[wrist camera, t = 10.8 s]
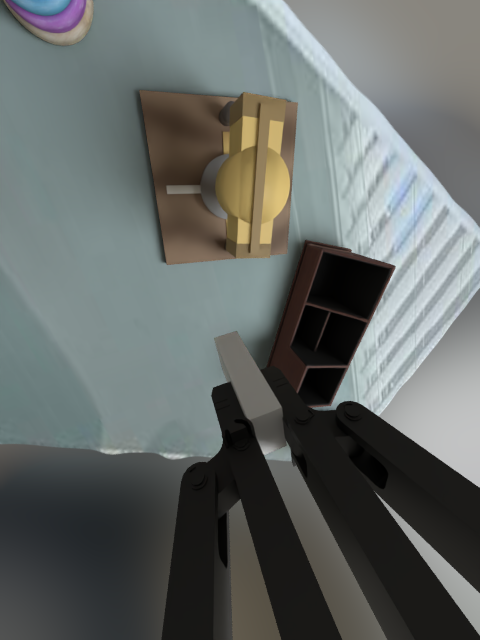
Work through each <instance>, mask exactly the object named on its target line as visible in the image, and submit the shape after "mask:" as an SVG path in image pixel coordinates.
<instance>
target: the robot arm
mask: <svg viewBox="0 0 480 640" xmlns="http://www.w3.org/2000/svg"><path fill="white" fill-rule="evenodd" d="M214 340H215V343H216V347H217V351H218V354H219V358H220V362H221V365H222V369H223V372H224V374H225V377H226V380H227V382H228V383H225V384H222V385H219V386H216V387H214V388H213V390H212V395H211V397H212V400H213V403H214V407H215V410H216V414H217V417H218V421H219V424H220V428H221V431H222V438H223V444H222V447H221V449H220V451H219V452H218V453H217V454H216V455H215V456H214V457H213V458H212V459H211V460H210V461H208V462H207V463H206V462H198V463H195V464H193V465H192V466H190V467H189V468H188V469H187V470H186V472H185V473H184V475H183V478H182V481H181V487H180V495H179V504H178V512H177V519H176V527H175V535H174V543H173V552H172V559H171V567H170V575H169V584H168V592H167V599H166V608H165V616H164V624H163V632H162V640H232V609H231V573H230V539H229V509H230V508H231V507H232V506H233V505H234V504H235V503H237V502H238V501H239V500H240V499H241V502H242V505H243V508H244V512H245V515H246V519H247V522H248V526H249V529H250V533H251V536H252V539H253V543H254V547H255V550H256V554H257V557H258V560H259V564H260V567H261V571H262V574H263V578H264V581H265V585H266V588H267V592H268V595H269V598H270V602H271V605H272V609H273V612H274V616H275V619H276V623H277V626H278V630H279V633H280V636H281V640H342V638H341V636H340V634H339V632H338V629H337V627H336V624H335V622H334V620H333V617H332V615H331V612H330V610H329V608H328V605H327V603H326V601H325V599H324V596H323V594H322V591H321V589H320V587H319V584H318V582H317V579H316V577H315V575H314V572H313V570H312V568H311V566H310V563H309V561H308V558H307V556H306V553H305V551H304V549H303V547H302V544H301V542H300V539H299V537H298V535H297V532H296V530H295V528H294V525H293V523H292V521H291V518H290V516H289V513H288V511H287V509H286V507H285V504H284V502H283V499H282V497H281V495H280V492H279V490H278V487H277V485H276V483H275V481H274V478H273V476H272V474H271V471H270V469H269V466H268V464H267V462H266V459H265V457H264V455H266V454H268V453H270V452H273V451H275V450H277V449H280V448H282V447H285V446H287V445H286V441H287V443H288V444H289V446H290V448H291V457H292V463H293V466H295V465H297V467H298V469H299V471H300V473H301V474H302V476H303V478H304V480H305V482H306V484H307V486H308V488H309V490H310V492H311V494H312V496H313V498H314V499H315V501H316V503H317V505H318V507H319V509H320V511H321V513H322V515H323V517H324V519H325V521H326V522H327V524H328V526H329V528H330V530H331V532H332V534H333V536H334V538H335V540H336V542H337V543H338V546H339V548H340V549H341V551H342V553H343V555H344V557H345V559H346V561H347V563H348V565H349V567H350V568H351V571H352V572H353V574H354V576H355V578H356V580H357V582H358V584H359V586H360V588H361V590H362V592H363V594H364V595H365V597H366V599H367V601H368V603H369V605H370V607H371V609H372V611H373V613H374V615H375V617H376V619H377V620H378V622H379V624H380V626H381V628H382V630H383V632H384V634H385V636H386V638H387V640H480V635H479V634H478V633H477V632H476V630H475V629H474V627H473V626H472V625H471V623H470V622H469V621H468V619H467V618H466V616H465V615H464V614H463V612H462V611H461V610H460V608H459V607H458V605H457V604H456V603H455V602H454V600H453V599H452V597H451V596H450V595H449V593H448V592H447V590H446V589H445V588H444V587H443V585H442V584H441V582H440V581H439V579H438V578H437V577H436V575H435V574H434V573H433V571H432V570H431V569H430V567H429V566H428V565H427V563H426V562H425V560H424V559H423V558H422V557H421V555H420V554H419V552H418V551H417V549H416V548H415V547H414V545H413V544H412V543H411V541H410V540H409V539H408V537H407V536H406V535H405V533H404V532H403V530H402V529H401V528H400V526H399V525H398V523H397V522H396V521H395V519H394V518H393V517H392V516H391V514H390V513H389V511H388V510H387V508H386V507H385V506H384V504H383V503H382V502H381V500H380V499H379V498H378V496H377V495H376V493H377V494H378V495H379V496H380V497H381V498H382V499H383V500H384V501H385V502H386V503H387V504H388V505H389V506H390V507H391V508H392V509H393V510H394V511H395V512H396V513H398V514H399V516H401V517H402V518H403V519H404V520H405V521H406V522H407V523H408V524H409V525H410V526H411V527H412V528H413V529H414V530H415V531H416V532H417V533H418V534H419V535H420V536H421V537H422V538H423V539H424V540H425V541H426V542H427V543H429V544H430V545H431V546H432V547H433V548H434V549H435V550H436V551H437V552H438V553H439V554H440V555H441V556H442V557H443V558H444V559H445V560H446V561H447V562H448V563H449V564H450V565H451V566H452V567H453V568H454V569H456V571H458V573H460V574H461V575H462V576H463V577H464V578H465V579H466V580H467V581H468V582H469V583H470V584H471V585H472V586H473V587H474V588H475V589H476V590H477V591H478V592H479V593H480V488H479V487H478V486H476V485H475V484H473V483H472V482H471V481H469V480H468V479H466V478H465V477H463V476H462V475H461V474H459V473H458V472H456V471H455V470H453V469H452V468H450V467H449V466H448V465H446V464H445V463H444V462H442V461H441V460H439V459H438V458H436V457H435V456H434V455H432V454H431V453H429V452H428V451H427V450H425V449H424V448H422V447H421V446H419V445H418V444H417V443H415V442H414V441H412V440H411V439H409V438H408V437H407V436H405V435H404V434H403V433H401V432H400V431H398V430H397V429H395V428H394V427H393V426H391V425H390V424H388V423H387V422H386V421H384V420H383V419H381V418H380V417H378V416H377V415H376V414H374V413H373V412H371V411H370V410H369V409H367V408H366V407H364V406H363V405H361V404H359V403H357V402H353V401H344V402H342V403H340V404H339V405H338V406H337V408H336V410H329V411H318V410H314V409H312V408H310V407H308V406H307V405H306V404H305V403H304V402H303V401H302V399H301V398H300V396H299V395H298V394H297V392H296V391H295V389H294V388H293V387H292V385H291V384H290V383H289V381H288V380H287V378H286V377H285V375H284V374H283V373H282V371H281V370H280V369H278V368H276V367H275V366H271V367H268V368H265V369H262V370H259V368H258V366H257V365H256V363H255V361H254V360H253V358H252V356H251V355H250V353H249V351H248V350H247V348H246V346H245V345H244V343H243V341H242V339H241V338H240V336H239V334H238V333H237V331H235V332H232V333H228V334H225V335H222V336H219V337H216V338H214ZM295 463H296V464H295ZM373 490H374V491H375V492H376V493H375V492H374V491H373Z"/></svg>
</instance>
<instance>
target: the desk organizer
mask: <svg viewBox="0 0 480 640" xmlns="http://www.w3.org/2000/svg"><path fill="white" fill-rule="evenodd" d="M351 251H352V250H351V249H347V248H342V247H337V246H333V245H328V244H323V243H318V242H313V241H308V240H305V244H304V247H303V250H302V254H301V257H300V260H299V263H298V267H297V270H296V273H295V276H294V280H293V283H292V286H291V290H290V293H289V296H288V299H287V303H286V306H285V309H284V313H283V316H282V319H281V322H280V325H279V329H278V332H277V335H276V338H275V342H274V345H273V348H272V351H271V355H270V358H269V361H268V364H267V368H268V367H271V366H275V367H276V368H278V369H280V370H281V371H282V373H283V374H284V375H285V377H286V378H287V380H288V381H289V383H290V384H291V385H292V387H293V388H294V389H295V391H296V392H297V394H298V395H299V396H300V398H301V399H302V401H303V402H304V403H305V404H306V405H307V406H308V407H310V408H312V407H323V406H331V404H332V402H333V400H334V397H335V395H336V393H337V391H338V389H339V387H340V385H341V382H342V380H343V378H344V376H345V374H346V372H347V370H348V367H349V365H350V363H351V361H352V359H353V357H354V354H355V352H356V350H357V348H358V346H359V344H360V342H361V339H362V337H363V335H364V333H365V331H366V329H367V327H368V325H369V323H370V321H371V319H372V316H373V314H374V312H375V310H376V308H377V306H378V304H379V302H380V300H381V297H382V295H383V293H384V291H385V289H386V287H387V285H388V283H389V281H390V278H391V276H392V274H393V272H394V270H395V267H396V266H394V265H391V264H388V263H384V262H381V261H378V260H375V259H371V258H368V257H365V256H362V255H358V254H355V253H352V252H351Z"/></svg>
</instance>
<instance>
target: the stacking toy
mask: <svg viewBox="0 0 480 640" xmlns="http://www.w3.org/2000/svg"><path fill="white" fill-rule="evenodd" d="M3 1H4V3H5V4H6V6H7V7H8V8H9V10H10V11H11V12H12V14H13V15H14V16H15V17H16V18H17V20H18V21H19V22H20V23H21V24H22V25H23V26H24V27H25V28H27V29H28V30H29V31H30V32H31V33H33V34H34V35H36V36H37V37H39V38H41V39H42V40H44V41H46V42H49V43H52V44H55V45H61V46H68V45H73V44H76V43H78V42H79V41H81V40H82V39H83V38H84V37H85V35H86V34H87V32H88V31H89V29H90V26H91V23H92V19H93V0H3Z"/></svg>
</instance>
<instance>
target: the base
mask: <svg viewBox="0 0 480 640" xmlns="http://www.w3.org/2000/svg"><path fill="white" fill-rule="evenodd" d="M139 91H140V98H141V104H142V110H143V117H144V123H145V129H146V136H147V142H148V148H149V155H150V161H151V167H152V174H153V180H154V186H155V193H156V199H157V205H158V212H159V218H160V224H161V231H162V237H163V243H164V250H165V256H166V262H167V265H171V264H182V263H193V262H203V261H214V260H225V259H236V258H235V257H234V256H233V255H231V254H230V253H229V252H228V251H226V237H227V213H226V212H225V211H224V210H223V209H222V207H221V206H220V204H219V202H218V199H217V196H216V191H215V182H216V176H217V173H218V171H219V168H220V167H221V165H222V164H223V162H224V161H225V160H226V159H227V158H228V157H229V137H230V127H229V120H230V107H231V106H232V104H233V103H234V102H235V101H236V100H237V99H238V98H232V97H220V96H207V95H194V94H182V93H169V92H156V91H144V90H139ZM297 106H298V103H296V102H286V109H285V119H284V124H283V133H282V143H281V152H280V156H281V157H282V159H283V160H284V162H285V164H286V166H287V169H288V172H289V177H290V191H289V196H288V199H287V202H286V204H285V206H284V208H283V209H282V211H281V212H280V213H279V214H278V215H277V216H276V217H275V218H274V219H273V229H272V238H271V251H270V255H279V254H287V247H288V233H289V219H290V205H291V191H292V176H293V162H294V148H295V134H296V120H297Z"/></svg>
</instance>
